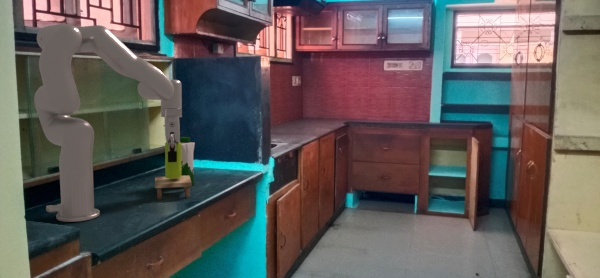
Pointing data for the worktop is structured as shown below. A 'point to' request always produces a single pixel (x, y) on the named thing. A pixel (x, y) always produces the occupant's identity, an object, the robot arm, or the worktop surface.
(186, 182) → the stool
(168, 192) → the worktop surface
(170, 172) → the soap dispenser
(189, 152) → the milk carton
